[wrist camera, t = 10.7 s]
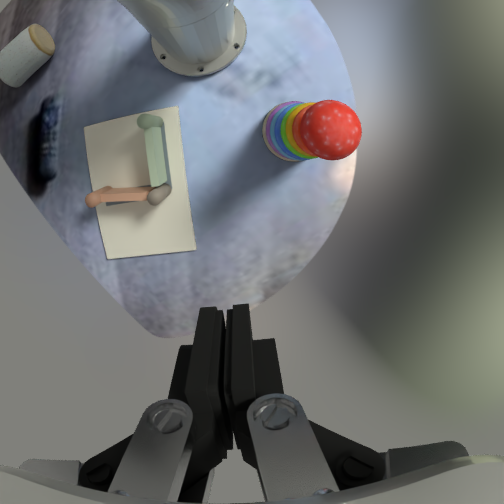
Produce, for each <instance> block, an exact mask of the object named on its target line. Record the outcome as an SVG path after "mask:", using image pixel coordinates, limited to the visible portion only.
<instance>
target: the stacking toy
mask: <svg viewBox="0 0 504 504" xmlns="http://www.w3.org/2000/svg"><path fill="white" fill-rule="evenodd" d="M262 133H263V138H264V141H265V144H266V145H267V147H268V149H269V150H270V151H271V152H272V153H273V154H274V155H275V156H277V157H279V158H281V159H283V160H286V161H302V160H309V159H313V158H318V157H320V158H322V159H326V160H339V159H343V158H345V157H347V156H349V155H350V154H351V153H353V152H354V150H355V149H356V148H357V147H358V145H359V142H360V140H361V133H362V131H361V123H360V121H359V118H358V116H357V115H356V113H355V112H354V111H353V110H352V109H351V108H350V107H349V106H347V105H346V104H344V103H342V102H339V101H335V100H324V101H320V102H317V103H303V102H298V101H292V102H285V103H282V104H279V105H277V106H276V107H274V108H273V109H272V110H271V111H270V112H269V113H268V114H267V116H266V118H265V120H264V123H263V128H262Z"/></svg>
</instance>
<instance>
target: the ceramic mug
mask: <svg viewBox="0 0 504 504" xmlns="http://www.w3.org/2000/svg"><path fill="white" fill-rule="evenodd" d="M54 51H55V44H54V41H53V39H52V37H51V36H50V34H49V33H48V32H47V31H46V30H45V29H44V28H43V27H42V26H40V25H37V24H33V25H31V26H29V27H28V28H26V29H25V30H23V31H22V32H21V33H20V34H19V35H18V36H17V37H16V38H15V39H14V40H12V41H11V42H10V43H9V44H8V45H7V46H6V47H5V48H4V49H3V50H2V51H1V52H0V79H1V80H2V81H3V82H4V83H5V84H7V85H9V86H11V87H20V86H21V85H22V84H23V83H24V82H25V81H26V80H27V79H28V78H29V77H30V76H31V75H32V74H33V73H34V72H35V71H37V70H38V69H39V68H40V67H41V66H42V65H43V64H44V63H45V62H46V61H48V59H49V58H50V57H51V56H52V55H53V53H54Z"/></svg>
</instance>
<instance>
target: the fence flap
mask: <svg viewBox="0 0 504 504" xmlns="http://www.w3.org/2000/svg"><path fill="white" fill-rule="evenodd" d="M170 193H171V186H170V185H169V184H166V183H164V184H161V185H160V186H158V187H157V188H156V187H129V188H112V187H111V186H105V187H103V188H101V189H99V190H96V191H94V192H92V193H90V194H88V195H87V196H86V198H85V203H86V205H87V206H88V207H91V208H93V207H95V206H97V205H98V204H100V203H102V202H115V201H148V203H149V204H150V205H153V206H156V205H158V204H160V203H161V202H162V201H163V200H164V199H165V198H166V197H167V196H169V195H170Z"/></svg>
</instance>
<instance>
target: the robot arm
mask: <svg viewBox="0 0 504 504" xmlns="http://www.w3.org/2000/svg"><path fill="white" fill-rule="evenodd" d="M117 1H118V2H119V3H121V4H122V5H123V6H124V7H125V8H126V9H127V10H128V11H129V12H130V13H131V14H132V15H133V16H134V17H135V18H136V19H137V20H138V21H139V23H140V24H141V25H142V26H143V27H144V28H145V29H146V30H147V31H148V32H149V33H150V34H151V35H152V37H151V44H152V49H153V52H154V54H155V56H156V58H157V59H158V60H159V62H160V63H161V64H162V65H163V66H164V67H166V68H167V69H169V70H170V71H172V72H174V73H177V74H180V75H184V76H193V77H197V76H205V75H209V74H213V73H215V72H218V71H220V70H222V69H224V68H225V67H227V66H228V65H230V64H231V63H232V62H233V61H234V60H235V59H236V58H237V57H238V55H239V54H240V53H241V51H242V49H243V47H244V45H245V41H246V34H247V29H246V23H245V20H244V17H243V16H242V14H241V12H240V11H239V10H238V9H237V8H236V7H235V6H234V0H117ZM234 13H235V14H234ZM235 47H238V49H235ZM163 57H166V58H165V59H163ZM200 69H203V71H202V72H200ZM233 433H234V436H235V441H236V445H237V448H238V449H241V452H242V456H243V460H244V461H245V462H246V463H248V464H250V465H251V466H252V467H254V468H255V469H257V474H258V477H259V482H260V485H261V489H262V493H263V496H264V500H265V502H255V503H235V504H504V456H501V455H488V454H487V455H473V456H469V454H468V452H467V450H466V448H465V447H464V446H463V445H462V444H460V443H458V442H455V441H444V442H438V443H432V444H427V445H419V446H412V447H404V448H394V449H388V451H387V452H381V453H378V452H376V451H374V450H372V449H371V448H368V447H366V446H363V445H361V444H359V443H356V442H354V441H352V440H350V439H348V438H345V437H343V436H341V435H339V434H337V433H335V432H332V431H330V430H328V429H326V428H324V427H322V426H320V425H318V424H316V423H314V422H312V421H310V420H308V419H307V417H306V415H305V412H304V410H303V408H302V406H301V404H300V403H299V401H297V400H296V399H295V398H293V397H291V396H288V395H286V394H284V391H283V385H282V379H281V373H280V367H279V361H278V356H277V350H276V344H275V339H274V338H271V339H262V340H253V339H252V329H251V321H250V311H249V304H239V305H233V309H229V310H227V320H226V326H225V320H224V314H223V310H217V307H203V308H200V311H199V316H198V321H197V326H196V331H195V337H194V342H193V345H181V346H180V349H179V352H178V356H177V361H176V365H175V369H174V374H173V378H172V382H171V387H170V391H169V396H168V399H165V400H160V401H158V402H155V403H153V404H152V405H150V406H149V407H148V408H147V409H146V410H145V412H144V413H143V415H142V417H141V419H140V421H139V424H138V425H137V428H136V430H135V432H134V434H132V435H130V436H129V437H127V438H125V439H124V440H122V441H120V442H119V443H117V444H115V445H113V446H112V447H110V448H108V449H106V450H105V451H103V452H101V453H99V454H98V455H96V456H94V457H92V458H90V459H89V460H88V461H86V462H85V463H81V462H80V461H79V460H76V461H74V460H72V461H71V460H68V461H67V460H42V459H30V460H27V461H25V462H23V463H22V465H20V467H19V468H14V467H9V466H2V465H0V504H208V500H209V495H210V491H211V486H212V482H213V478H214V467H216V466H217V465H218V464H219V463H221V462H222V459H227V450H232V449H233ZM232 504H234V503H232Z"/></svg>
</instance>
